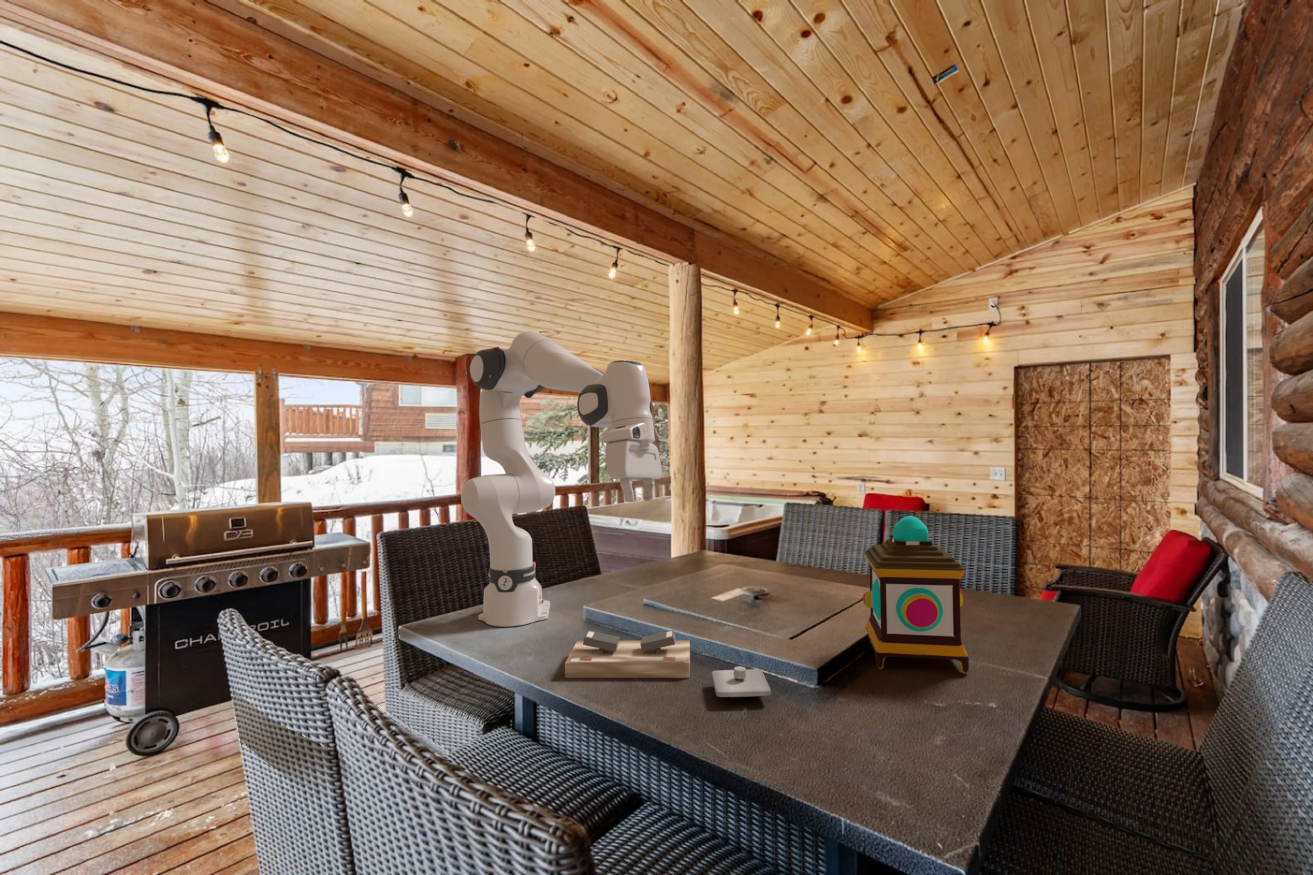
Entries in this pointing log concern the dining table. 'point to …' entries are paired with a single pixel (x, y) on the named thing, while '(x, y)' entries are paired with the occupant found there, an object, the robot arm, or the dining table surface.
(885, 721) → the dining table surface
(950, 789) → the dining table surface
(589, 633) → the plate
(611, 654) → the switch panel
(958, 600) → the decorative lantern
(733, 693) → the light switch
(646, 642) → the plate
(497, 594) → the robot arm
